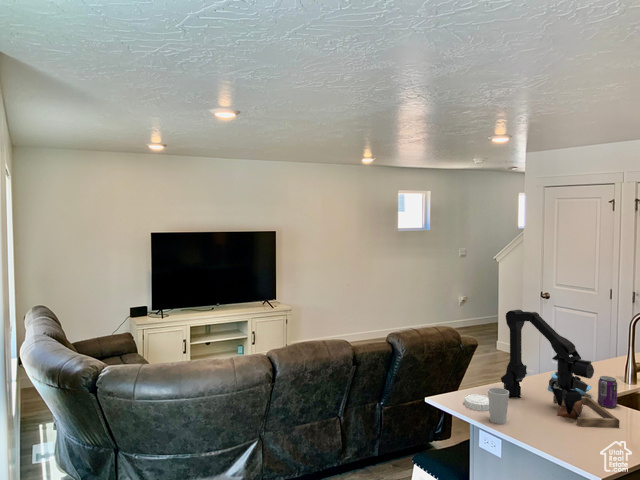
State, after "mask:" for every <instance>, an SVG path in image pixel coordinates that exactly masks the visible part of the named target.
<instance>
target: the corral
mask: <svg viewBox="0 0 640 480" xmlns="http://www.w3.org/2000/svg"><path fill="white" fill-rule="evenodd" d="M552 398H553V400H552V403H553V404H556V405H558V403H557V401H556V398H555V396H554V395H553V397H552ZM581 401H582V406H583V405H584V406H585V405H586V406H587V407H589V408H590V409H592V411H594V412H595V413H596V414H598V415H599V416H600V417H583V416H581V417H580V416H579V417H577V420H576V425H577V426H578V427H585V428H586V427H589V428H609V429H610V428H611V429H620V420H619V418H617V417H616V416H615V415H613V414H612V413H611V412H609V411H608V410H607V409H606V408H605V407H604V406H602V405H600V404H599V403H598V402H596V400H594V399H592V398H591V397H590V396H582V400H581ZM562 402H564V401H563V399H562Z"/></svg>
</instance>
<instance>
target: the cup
mask: <svg viewBox="0 0 640 480" xmlns="http://www.w3.org/2000/svg"><path fill="white" fill-rule="evenodd" d="M487 397H489V411H488V412H489V421H490V422H491V423H493V424H498V425H499V424H501V425H503V424H506V423H507V418H508V416H507V415H508V407H509V391H508V390H506V389H504V388H503V387H490V388H488V389H487Z"/></svg>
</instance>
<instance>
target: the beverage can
mask: <svg viewBox="0 0 640 480" xmlns="http://www.w3.org/2000/svg"><path fill="white" fill-rule="evenodd" d="M597 385H598V386H597V403H598V404H599V405H600V406H602V407H603V408H610V409H611V408H613V409H614V408H615V407H617V406H618V381H617V378H615V377H612V376H609V375H601V376H599V379H598V382H597Z"/></svg>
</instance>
